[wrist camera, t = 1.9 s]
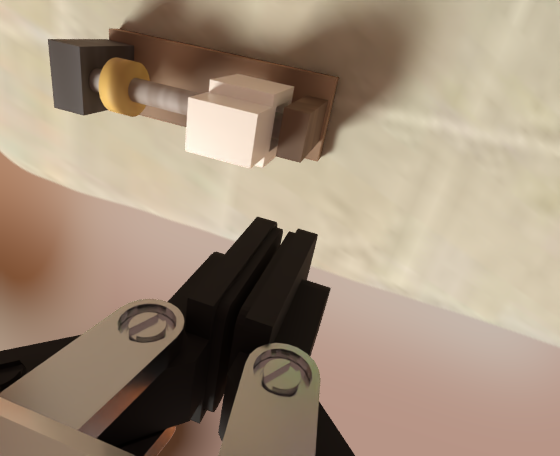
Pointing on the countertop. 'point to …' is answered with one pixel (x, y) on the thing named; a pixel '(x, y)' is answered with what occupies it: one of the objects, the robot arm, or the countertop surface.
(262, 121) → the sleeve
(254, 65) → the rail
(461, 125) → the countertop surface
